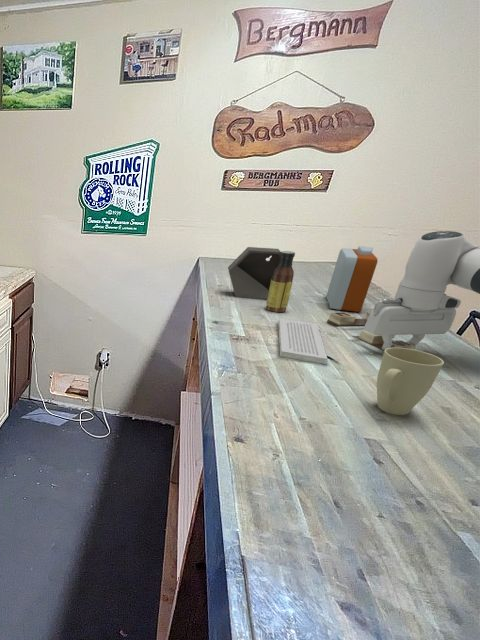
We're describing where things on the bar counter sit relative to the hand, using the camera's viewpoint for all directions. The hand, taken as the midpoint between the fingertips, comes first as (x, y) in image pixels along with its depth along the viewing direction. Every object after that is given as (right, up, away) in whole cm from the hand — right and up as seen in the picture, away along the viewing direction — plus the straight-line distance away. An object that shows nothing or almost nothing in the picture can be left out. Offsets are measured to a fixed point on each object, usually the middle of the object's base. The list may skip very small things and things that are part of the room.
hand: (398, 349), depth 120 cm
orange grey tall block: (+17, +17, +43) cm, 49 cm away
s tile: (0, -1, 0) cm, 1 cm away
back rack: (+8, +8, +23) cm, 26 cm away
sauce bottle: (-10, +14, +37) cm, 41 cm away
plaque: (-20, +2, +10) cm, 22 cm away
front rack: (0, 0, +4) cm, 4 cm away
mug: (-24, -13, -26) cm, 38 cm away
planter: (-9, +21, +54) cm, 58 cm away
